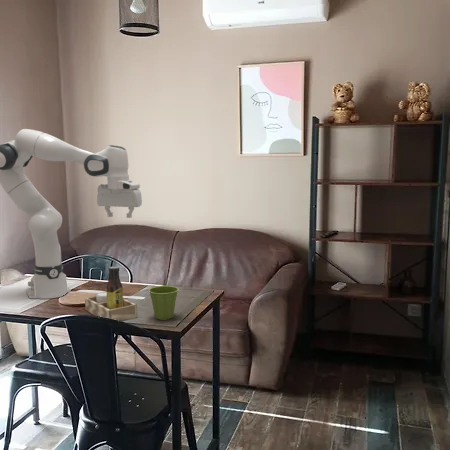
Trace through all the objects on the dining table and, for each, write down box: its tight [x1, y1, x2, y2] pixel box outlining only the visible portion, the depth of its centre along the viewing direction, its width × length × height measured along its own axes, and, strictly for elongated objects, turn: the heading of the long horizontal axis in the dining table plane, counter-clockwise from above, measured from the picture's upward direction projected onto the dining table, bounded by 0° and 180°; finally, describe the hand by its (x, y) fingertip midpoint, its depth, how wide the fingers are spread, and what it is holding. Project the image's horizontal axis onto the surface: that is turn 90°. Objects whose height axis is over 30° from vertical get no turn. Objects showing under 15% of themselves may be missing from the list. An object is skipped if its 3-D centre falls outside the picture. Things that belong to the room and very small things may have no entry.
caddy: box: [84, 295, 138, 322], centre depth 202 cm, size 22×12×5 cm, turn 39°
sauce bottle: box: [106, 266, 124, 310], centre depth 197 cm, size 6×6×20 cm
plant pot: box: [147, 285, 180, 321], centre depth 197 cm, size 12×12×11 cm
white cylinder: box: [95, 291, 107, 303], centre depth 206 cm, size 7×7×7 cm
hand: (119, 217), depth 213 cm, fingers open, 8 cm apart
